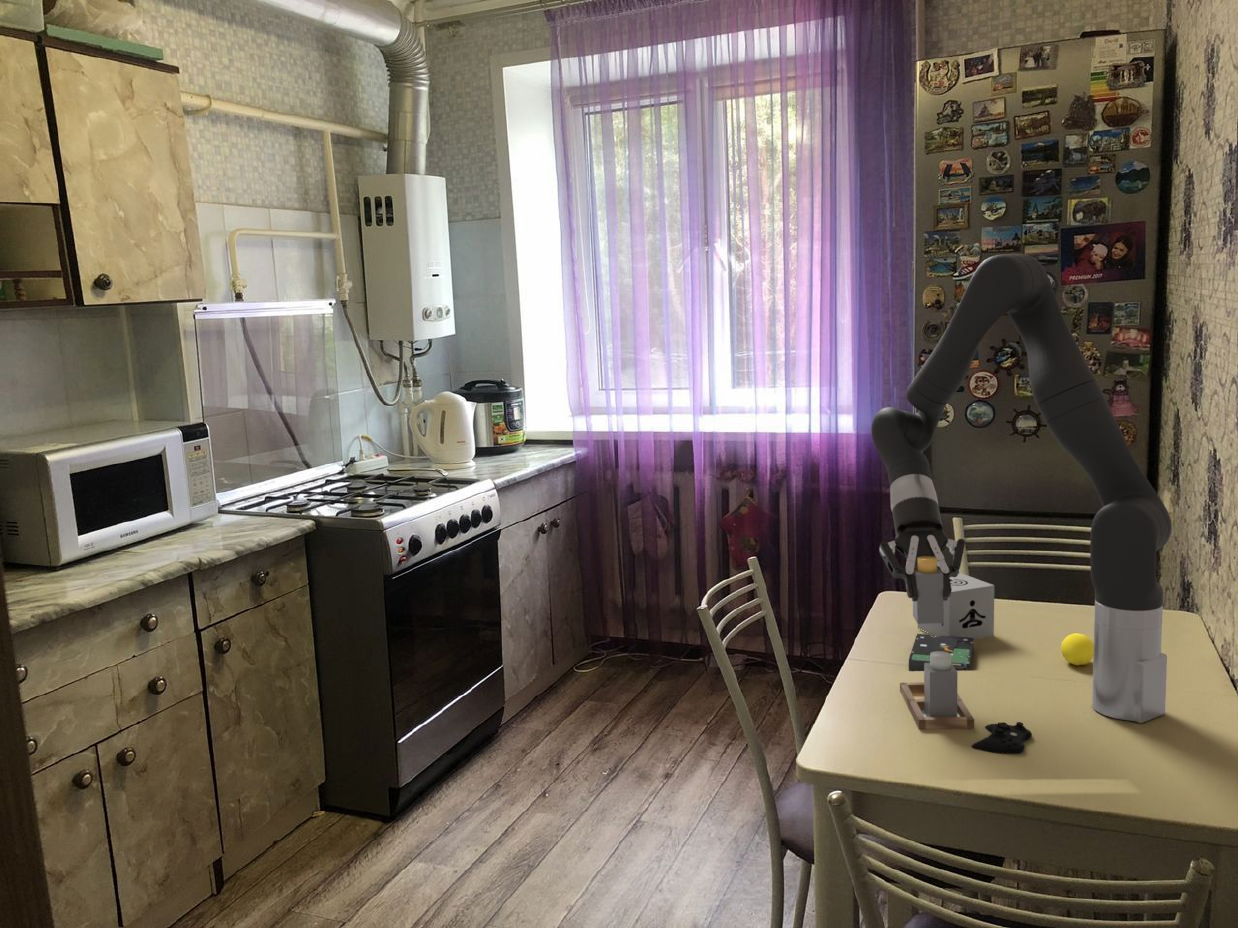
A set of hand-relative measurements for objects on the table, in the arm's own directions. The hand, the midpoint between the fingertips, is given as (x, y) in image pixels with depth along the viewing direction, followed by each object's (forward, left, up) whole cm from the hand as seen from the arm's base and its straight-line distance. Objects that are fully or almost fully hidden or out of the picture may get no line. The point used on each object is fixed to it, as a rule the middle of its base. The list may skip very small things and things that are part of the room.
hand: (930, 598), depth 159 cm
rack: (-3, +3, -18) cm, 18 cm away
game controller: (-17, +4, -18) cm, 25 cm away
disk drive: (+14, -17, -18) cm, 29 cm away
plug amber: (+2, -1, -4) cm, 5 cm away
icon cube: (+23, -31, -18) cm, 42 cm away
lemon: (-1, -34, -18) cm, 39 cm away
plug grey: (-6, +5, -16) cm, 18 cm away
